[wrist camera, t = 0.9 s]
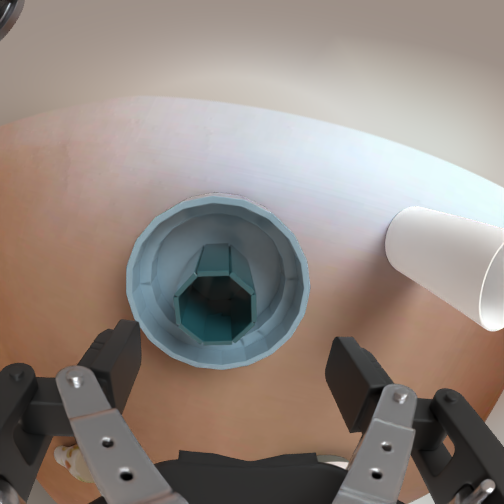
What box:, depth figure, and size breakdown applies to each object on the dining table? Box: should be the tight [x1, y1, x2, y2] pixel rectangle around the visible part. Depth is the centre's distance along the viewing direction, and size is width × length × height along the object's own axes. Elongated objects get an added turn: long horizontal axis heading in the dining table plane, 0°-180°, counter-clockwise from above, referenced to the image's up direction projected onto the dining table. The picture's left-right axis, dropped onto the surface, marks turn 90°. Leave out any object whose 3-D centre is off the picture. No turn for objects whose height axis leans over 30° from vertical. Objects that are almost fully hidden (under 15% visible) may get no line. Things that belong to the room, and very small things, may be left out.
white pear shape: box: [54, 445, 94, 483], centre depth 35 cm, size 8×10×10 cm
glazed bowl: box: [126, 192, 310, 370], centre depth 29 cm, size 16×16×6 cm
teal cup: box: [173, 243, 257, 346], centre depth 27 cm, size 6×6×9 cm
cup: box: [385, 206, 504, 331], centre depth 25 cm, size 8×8×16 cm
